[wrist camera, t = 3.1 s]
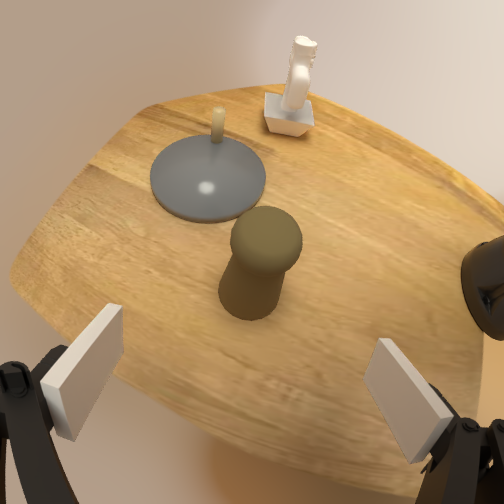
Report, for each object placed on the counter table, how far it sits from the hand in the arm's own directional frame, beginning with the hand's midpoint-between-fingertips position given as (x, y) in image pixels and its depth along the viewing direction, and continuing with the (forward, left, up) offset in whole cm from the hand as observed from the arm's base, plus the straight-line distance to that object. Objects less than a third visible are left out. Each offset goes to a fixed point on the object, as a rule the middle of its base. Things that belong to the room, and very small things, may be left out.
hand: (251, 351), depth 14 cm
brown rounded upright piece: (+2, -9, -13) cm, 16 cm away
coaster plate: (+13, -20, -13) cm, 27 cm away
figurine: (+9, -36, -13) cm, 39 cm away
